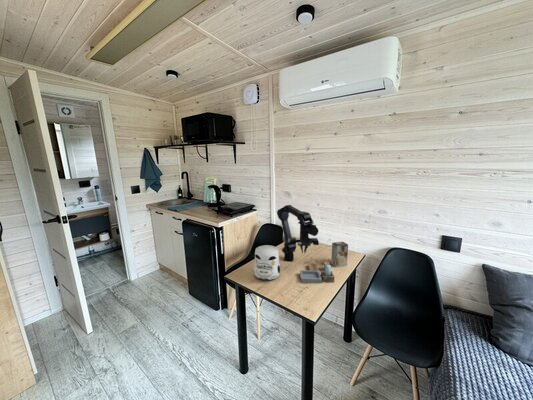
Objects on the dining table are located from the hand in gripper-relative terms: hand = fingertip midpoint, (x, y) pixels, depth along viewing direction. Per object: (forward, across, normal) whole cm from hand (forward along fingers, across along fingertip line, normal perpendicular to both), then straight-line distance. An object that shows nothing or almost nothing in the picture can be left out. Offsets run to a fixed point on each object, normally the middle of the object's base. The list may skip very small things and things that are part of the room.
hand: (303, 253), depth 148 cm
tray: (+12, +4, -11) cm, 17 cm away
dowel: (+12, +14, -12) cm, 22 cm away
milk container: (+12, -24, -9) cm, 29 cm away
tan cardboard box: (+12, +7, 0) cm, 14 cm away
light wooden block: (+12, +16, 0) cm, 20 cm away
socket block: (+12, +14, -12) cm, 22 cm away
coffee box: (+12, +26, +8) cm, 30 cm away
